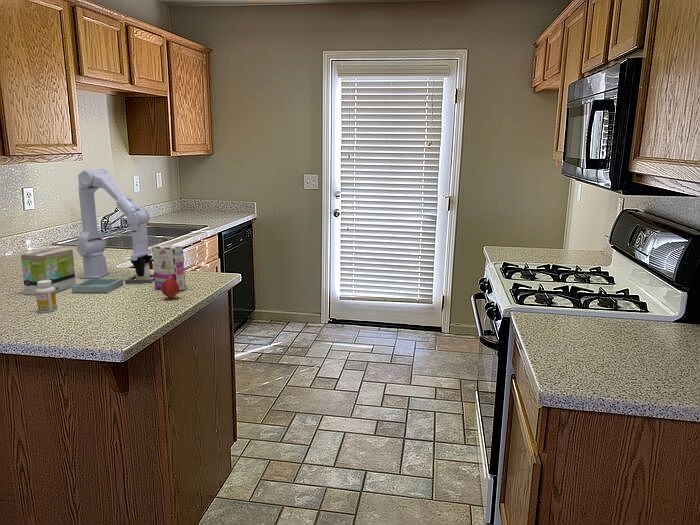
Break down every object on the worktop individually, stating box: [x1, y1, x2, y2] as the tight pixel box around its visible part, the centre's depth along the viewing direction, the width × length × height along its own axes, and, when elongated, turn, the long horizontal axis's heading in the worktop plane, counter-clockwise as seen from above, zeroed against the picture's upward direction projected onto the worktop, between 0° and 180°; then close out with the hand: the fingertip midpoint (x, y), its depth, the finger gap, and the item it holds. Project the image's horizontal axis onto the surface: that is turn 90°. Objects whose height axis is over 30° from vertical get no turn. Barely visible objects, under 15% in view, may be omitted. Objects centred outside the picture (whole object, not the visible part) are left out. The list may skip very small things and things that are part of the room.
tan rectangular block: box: [135, 263, 151, 280], centre depth 216 cm, size 4×4×7 cm
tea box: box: [20, 248, 77, 296], centre depth 201 cm, size 15×10×15 cm
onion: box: [161, 276, 180, 300], centre depth 189 cm, size 6×6×8 cm
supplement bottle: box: [35, 280, 58, 314], centre depth 175 cm, size 5×5×10 cm
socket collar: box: [125, 274, 155, 285], centre depth 216 cm, size 10×10×2 cm
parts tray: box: [70, 278, 124, 294], centre depth 204 cm, size 13×13×2 cm
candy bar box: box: [151, 244, 186, 292], centre depth 201 cm, size 11×5×16 cm, turn 62°
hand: (143, 275), depth 216 cm, fingers closed on tan rectangular block, 4 cm apart
